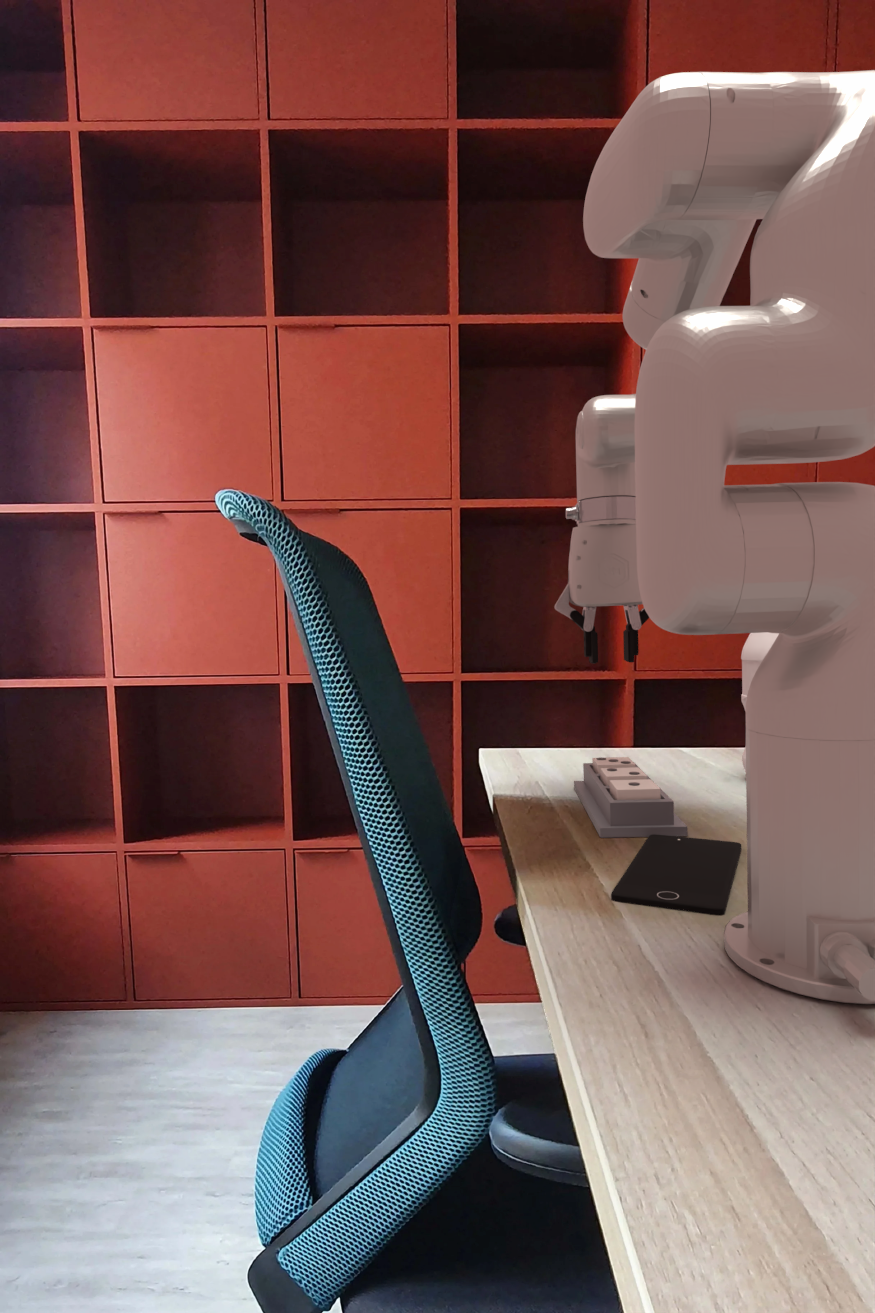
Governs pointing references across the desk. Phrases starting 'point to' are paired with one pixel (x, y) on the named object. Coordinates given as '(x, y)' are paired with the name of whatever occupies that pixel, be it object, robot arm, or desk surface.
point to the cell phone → (680, 874)
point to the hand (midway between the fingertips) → (611, 660)
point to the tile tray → (626, 811)
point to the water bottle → (753, 663)
